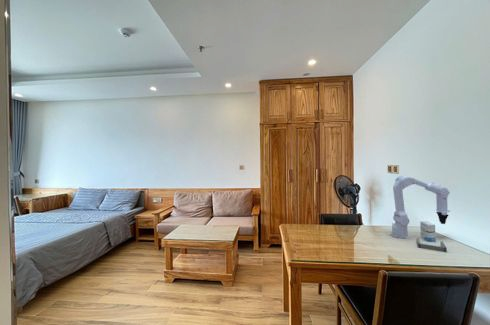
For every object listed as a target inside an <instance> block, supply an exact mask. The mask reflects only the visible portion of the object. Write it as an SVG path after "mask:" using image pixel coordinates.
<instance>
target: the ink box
mask: <svg viewBox="0 0 490 325" xmlns="http://www.w3.org/2000/svg"><path fill="white" fill-rule="evenodd" d="M419 223H420V224H419V226H420V238H421V239H422V240H424V241H427V242H431V243H433V242H434V243H435V242H436V241H437V239H436V224H434V223H432V222H429V221H424V220H423V221H422V220H421V221H420V222H419Z"/></svg>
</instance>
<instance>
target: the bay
mask: <svg viewBox="0 0 490 325" xmlns="http://www.w3.org/2000/svg"><path fill="white" fill-rule="evenodd" d="M416 243H417V248H419V249H424V250H431V251H435V252H442V251H443V252H442V253H447V252H448V250H447V248H448V247H446V244H445V243H444V241H440V242H439V243H440V246H439V245H432V244H426V243H421V240H420V238H419V237H416Z"/></svg>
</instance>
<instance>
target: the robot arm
mask: <svg viewBox="0 0 490 325" xmlns="http://www.w3.org/2000/svg"><path fill="white" fill-rule="evenodd" d="M394 179H395V178H394ZM412 185H417V186H420V187H423V188H424V190H426V191H428V192H431V193H434V194H435V195H436V212H435V213H436V214H437V216H438V221H439V223H440V224H441V225H445V224H446V223H447V220H448V218H449V214H448V213H450V212H451V211H450V209H449V210H448V198H449V195H450V193H451V192H450V191H449V189H448V188H447V187H442V186H441V185H437V184H435V183H434V182H424V181H422V180H419V179H416V178H414V177H411V176H402V175H399V176H397V177H396V179H395V181H394V184H393V187H392V188H393V189H392V190H393V198H394V208H395V211H394V212H393V217H392V218H393V220H394V222H395V223H392V224H391V234H392V237H393V238H400V239H407V240H408V239H409V234H408V232H409V230H408V225H409V224H410V219H409V217H408V214H407V213H406V210H405V201H404V200H405V199H404V192H403V190H404V189H406V188H408V187H409V186H412Z"/></svg>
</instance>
